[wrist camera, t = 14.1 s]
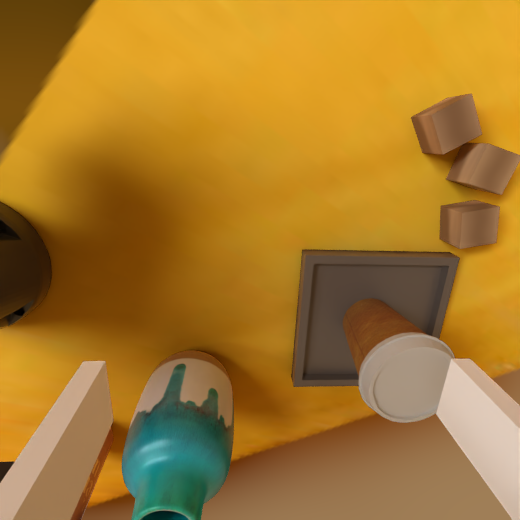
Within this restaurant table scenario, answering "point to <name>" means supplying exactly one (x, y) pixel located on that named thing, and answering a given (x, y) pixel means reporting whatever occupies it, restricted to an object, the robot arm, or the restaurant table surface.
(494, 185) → the cube
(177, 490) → the vase
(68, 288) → the restaurant table surface
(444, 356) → the disposable coffee cup
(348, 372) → the tray
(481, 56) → the restaurant table surface
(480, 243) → the cube
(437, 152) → the cube
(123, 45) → the restaurant table surface
